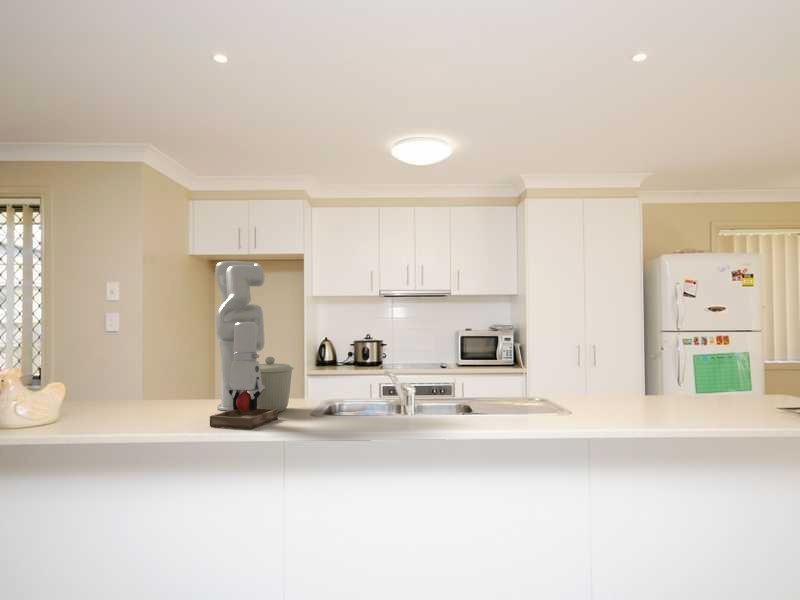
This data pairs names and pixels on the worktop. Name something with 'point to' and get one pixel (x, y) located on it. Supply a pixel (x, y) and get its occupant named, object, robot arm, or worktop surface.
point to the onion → (243, 401)
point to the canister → (274, 385)
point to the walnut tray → (244, 418)
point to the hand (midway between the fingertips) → (245, 409)
